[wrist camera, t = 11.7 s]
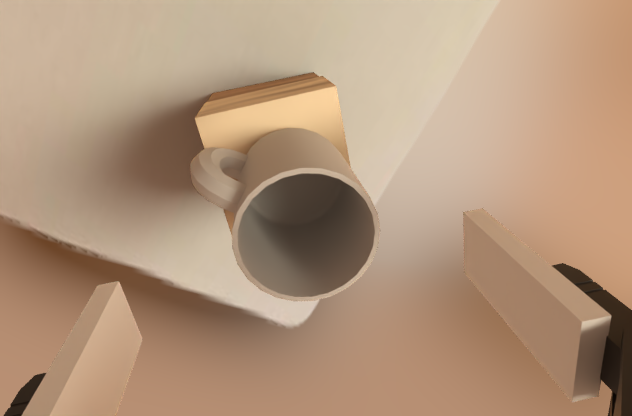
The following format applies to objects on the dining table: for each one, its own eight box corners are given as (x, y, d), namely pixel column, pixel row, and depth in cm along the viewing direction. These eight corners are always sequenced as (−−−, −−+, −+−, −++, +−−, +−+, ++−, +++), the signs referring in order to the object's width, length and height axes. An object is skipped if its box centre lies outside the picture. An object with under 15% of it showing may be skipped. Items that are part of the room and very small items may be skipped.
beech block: (204, 102, 32) (194, 118, 27) (322, 75, 33) (335, 86, 27) (237, 210, 36) (234, 243, 31) (343, 185, 36) (358, 213, 31)
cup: (317, 241, 31) (338, 318, 23) (181, 190, 29) (152, 256, 20) (364, 152, 29) (406, 202, 21) (222, 87, 26) (207, 115, 18)
